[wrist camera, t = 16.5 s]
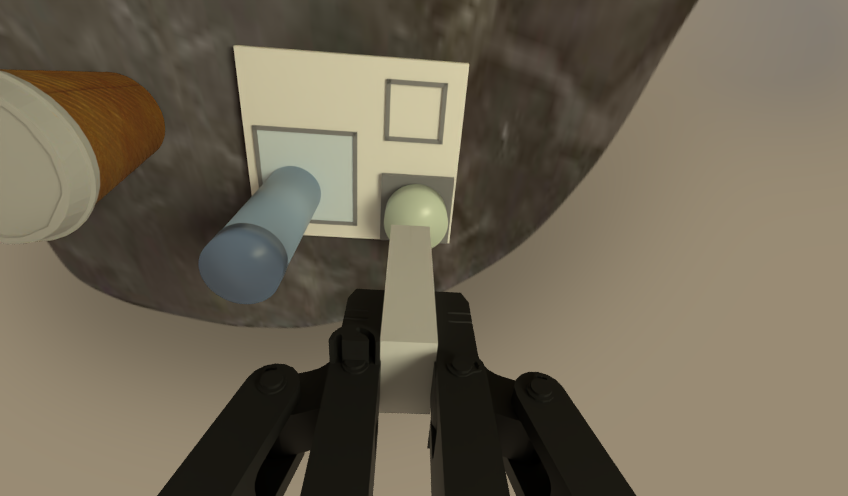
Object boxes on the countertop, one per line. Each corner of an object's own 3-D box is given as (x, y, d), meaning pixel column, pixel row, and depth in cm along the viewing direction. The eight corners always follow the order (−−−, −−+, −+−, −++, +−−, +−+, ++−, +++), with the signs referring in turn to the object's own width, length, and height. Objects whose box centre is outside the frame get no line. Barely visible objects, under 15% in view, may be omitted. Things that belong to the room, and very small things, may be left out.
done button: (386, 182, 33) (384, 191, 31) (449, 186, 33) (451, 195, 31) (384, 238, 35) (382, 250, 33) (443, 241, 35) (444, 253, 34)
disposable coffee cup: (112, 195, 35) (-20, 274, 24) (19, 78, 30) (-190, 111, 20) (213, 153, 33) (120, 217, 23) (131, 23, 29) (-30, 27, 18)
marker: (263, 163, 33) (192, 233, 22) (320, 167, 33) (276, 238, 22) (268, 215, 35) (205, 302, 24) (322, 218, 35) (283, 306, 24)
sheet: (237, 45, 30) (230, 46, 29) (467, 62, 31) (470, 64, 29) (259, 228, 36) (254, 235, 35) (448, 238, 37) (449, 245, 36)
